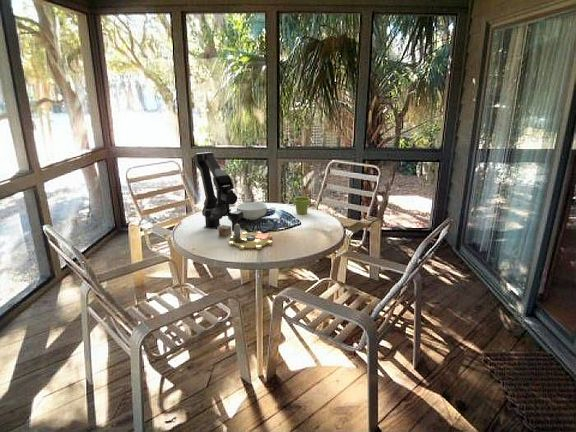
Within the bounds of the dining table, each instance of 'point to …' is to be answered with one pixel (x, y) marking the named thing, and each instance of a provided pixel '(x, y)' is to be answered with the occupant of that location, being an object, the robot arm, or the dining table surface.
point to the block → (224, 231)
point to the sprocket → (249, 239)
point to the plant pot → (301, 205)
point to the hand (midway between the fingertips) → (224, 230)
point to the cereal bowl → (252, 210)
